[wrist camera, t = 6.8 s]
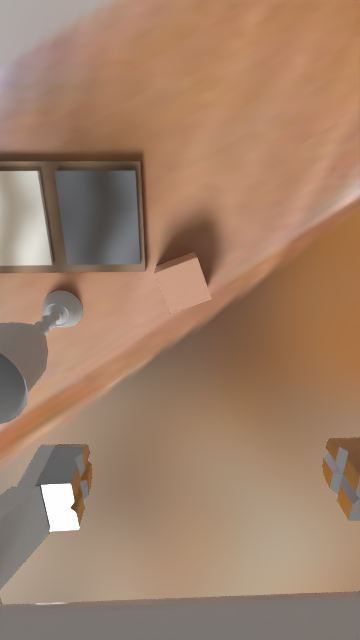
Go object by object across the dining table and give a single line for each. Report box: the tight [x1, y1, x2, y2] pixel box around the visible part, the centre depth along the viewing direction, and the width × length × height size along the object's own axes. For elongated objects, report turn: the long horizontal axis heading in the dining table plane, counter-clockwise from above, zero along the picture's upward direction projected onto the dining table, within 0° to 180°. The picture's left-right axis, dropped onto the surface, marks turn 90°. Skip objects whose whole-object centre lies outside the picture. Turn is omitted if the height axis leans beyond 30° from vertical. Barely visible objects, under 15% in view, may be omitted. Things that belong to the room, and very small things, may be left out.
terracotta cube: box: [154, 252, 211, 314], centre depth 35 cm, size 5×5×5 cm
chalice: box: [0, 290, 83, 424], centre depth 30 cm, size 7×7×18 cm
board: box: [0, 161, 146, 273], centre depth 34 cm, size 20×12×2 cm, turn 90°
